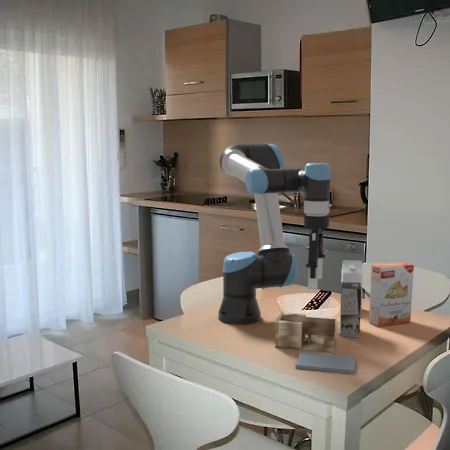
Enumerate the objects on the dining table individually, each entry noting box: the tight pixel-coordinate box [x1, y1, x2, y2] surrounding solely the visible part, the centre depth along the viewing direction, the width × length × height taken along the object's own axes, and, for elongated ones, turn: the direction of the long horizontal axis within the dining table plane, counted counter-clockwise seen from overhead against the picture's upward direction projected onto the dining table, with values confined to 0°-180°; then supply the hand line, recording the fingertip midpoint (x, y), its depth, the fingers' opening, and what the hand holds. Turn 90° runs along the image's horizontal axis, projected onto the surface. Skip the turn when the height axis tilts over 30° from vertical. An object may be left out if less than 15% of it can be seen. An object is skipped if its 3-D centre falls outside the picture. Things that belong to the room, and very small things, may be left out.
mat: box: [295, 350, 357, 375], centre depth 168 cm, size 16×11×1 cm
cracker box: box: [368, 261, 415, 328], centre depth 204 cm, size 14×6×21 cm, turn 114°
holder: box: [274, 311, 336, 353], centre depth 184 cm, size 18×11×8 cm, turn 75°
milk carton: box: [340, 259, 364, 310], centre depth 219 cm, size 7×7×19 cm
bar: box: [288, 316, 336, 337], centre depth 183 cm, size 14×5×4 cm, turn 75°
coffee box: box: [339, 282, 362, 338], centre depth 194 cm, size 9×6×16 cm
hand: (315, 283), depth 181 cm, fingers open, 13 cm apart
